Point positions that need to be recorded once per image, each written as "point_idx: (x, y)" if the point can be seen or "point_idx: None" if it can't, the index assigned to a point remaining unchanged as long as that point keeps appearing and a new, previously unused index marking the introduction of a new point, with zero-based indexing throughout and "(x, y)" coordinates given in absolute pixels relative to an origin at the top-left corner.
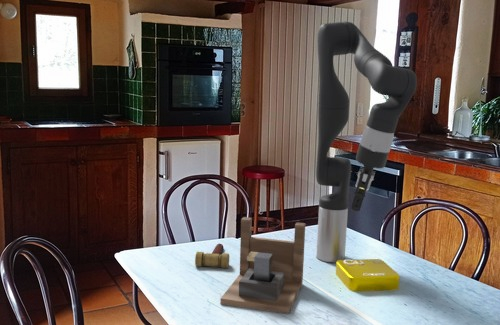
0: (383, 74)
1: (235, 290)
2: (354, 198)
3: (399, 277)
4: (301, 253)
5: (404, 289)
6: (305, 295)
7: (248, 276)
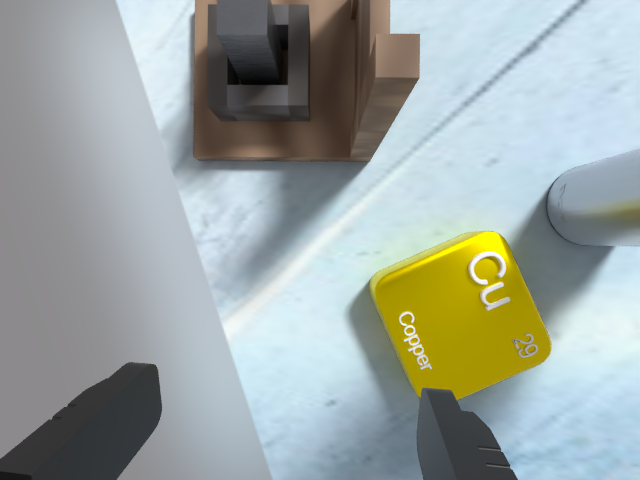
0: None
1: None
2: (38, 443)
3: None
4: (358, 125)
5: None
6: (306, 178)
7: None
